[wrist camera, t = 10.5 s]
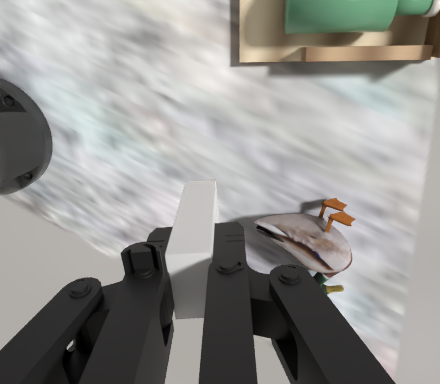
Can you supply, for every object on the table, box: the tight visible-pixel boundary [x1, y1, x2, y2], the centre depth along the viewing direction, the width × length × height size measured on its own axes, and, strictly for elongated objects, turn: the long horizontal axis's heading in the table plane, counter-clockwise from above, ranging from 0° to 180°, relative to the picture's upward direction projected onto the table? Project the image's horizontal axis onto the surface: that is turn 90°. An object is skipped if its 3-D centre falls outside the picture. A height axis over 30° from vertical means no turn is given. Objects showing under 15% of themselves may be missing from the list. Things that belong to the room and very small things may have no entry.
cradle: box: [239, 0, 440, 62], centre depth 36 cm, size 22×11×6 cm, turn 91°
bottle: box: [283, 0, 440, 34], centre depth 35 cm, size 5×5×15 cm
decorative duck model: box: [254, 198, 355, 295], centre depth 47 cm, size 15×8×15 cm
